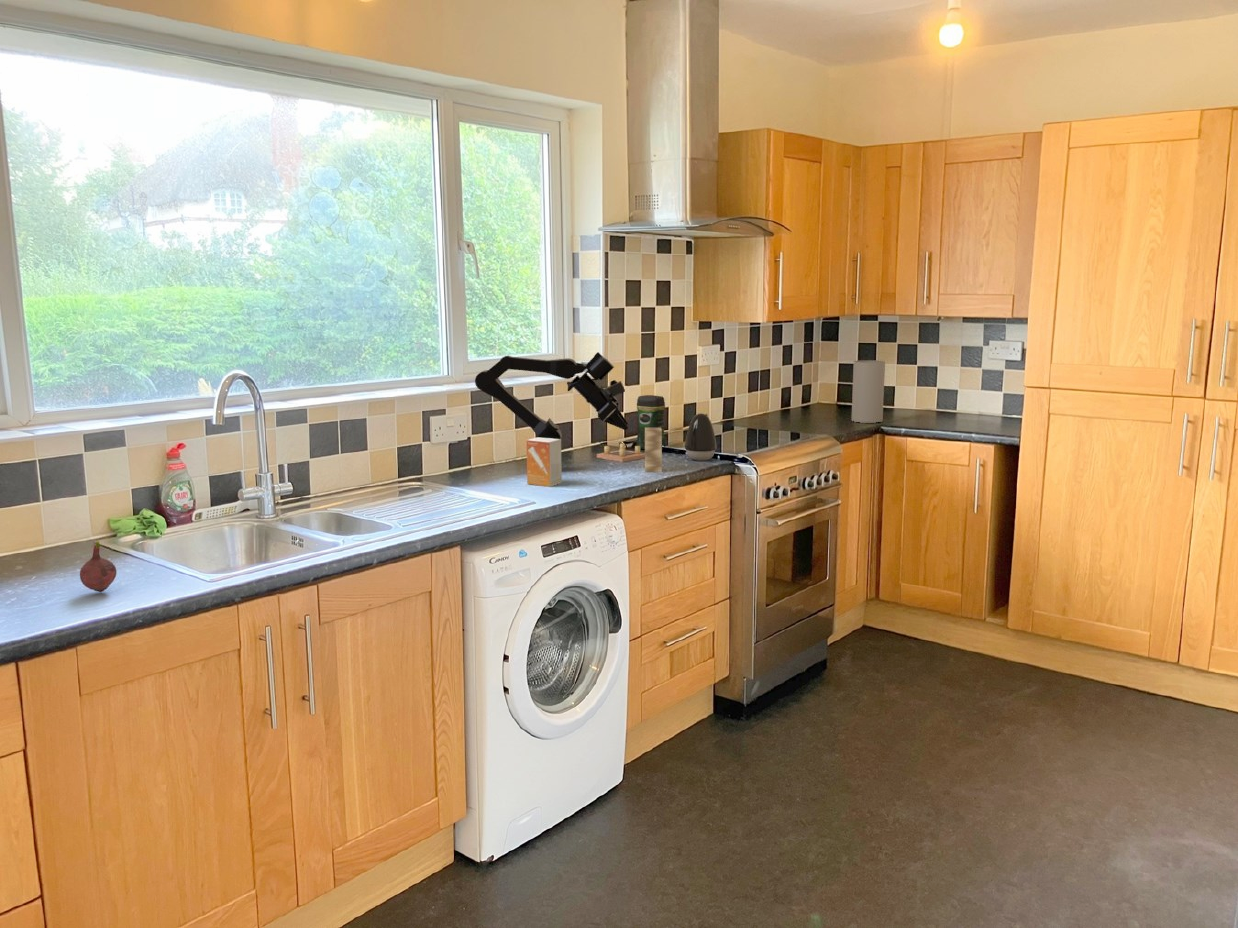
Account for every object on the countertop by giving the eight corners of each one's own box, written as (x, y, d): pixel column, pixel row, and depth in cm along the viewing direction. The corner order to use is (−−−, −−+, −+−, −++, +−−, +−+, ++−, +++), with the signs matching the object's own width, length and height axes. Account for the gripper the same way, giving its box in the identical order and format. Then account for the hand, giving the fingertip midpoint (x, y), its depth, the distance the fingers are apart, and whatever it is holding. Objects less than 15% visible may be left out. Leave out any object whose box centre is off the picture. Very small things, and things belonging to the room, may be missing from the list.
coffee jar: (668, 447, 341) (668, 395, 338) (656, 450, 335) (656, 397, 331) (645, 445, 347) (645, 393, 343) (633, 448, 340) (633, 395, 337)
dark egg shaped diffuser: (720, 457, 320) (721, 412, 318) (710, 463, 311) (710, 416, 308) (691, 455, 324) (691, 410, 322) (680, 460, 315) (680, 414, 312)
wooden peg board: (622, 461, 314) (622, 450, 313) (596, 457, 322) (596, 446, 322) (647, 457, 322) (647, 446, 321) (622, 453, 331) (622, 442, 330)
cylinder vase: (856, 419, 411) (858, 359, 407) (885, 420, 405) (888, 360, 401) (847, 422, 401) (849, 361, 396) (877, 424, 395) (880, 363, 390)
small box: (526, 484, 279) (525, 439, 277) (539, 480, 284) (538, 436, 282) (550, 487, 275) (549, 441, 273) (562, 483, 280) (561, 438, 278)
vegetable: (103, 599, 178) (97, 546, 176) (73, 597, 179) (67, 545, 177) (125, 589, 184) (120, 538, 182) (96, 587, 185) (91, 536, 183)
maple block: (645, 472, 297) (645, 429, 294) (644, 469, 302) (644, 427, 299) (661, 472, 297) (661, 429, 294) (661, 468, 302) (661, 427, 299)
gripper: (608, 375, 285) (646, 412, 287) (609, 369, 303) (645, 404, 305) (582, 401, 286) (619, 438, 288) (584, 394, 305) (619, 429, 306)
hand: (626, 427), depth 297 cm, fingers open, 9 cm apart
